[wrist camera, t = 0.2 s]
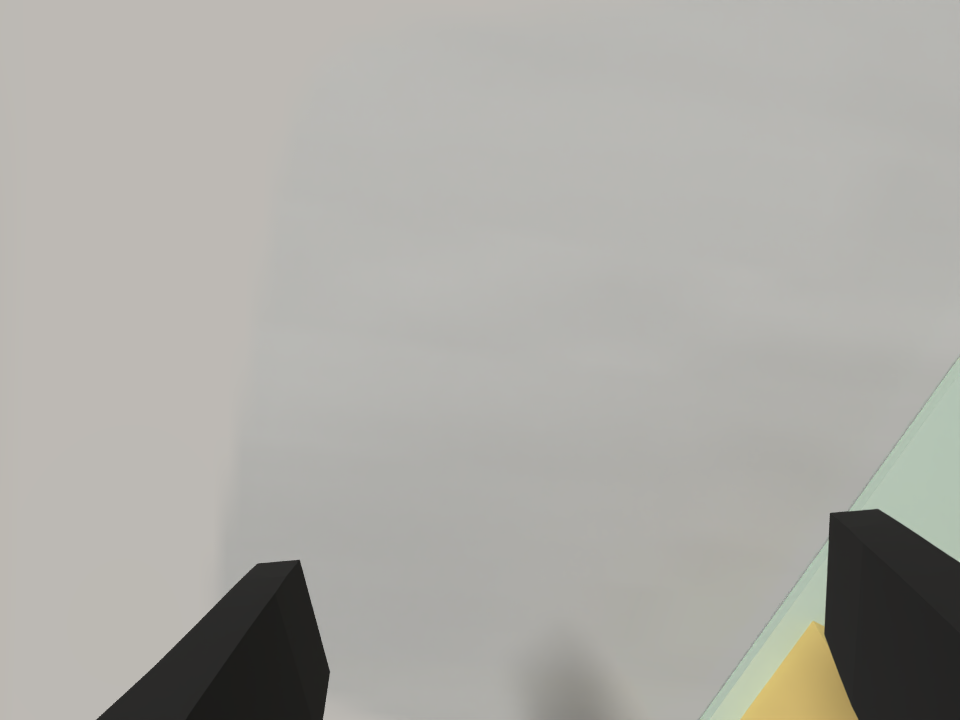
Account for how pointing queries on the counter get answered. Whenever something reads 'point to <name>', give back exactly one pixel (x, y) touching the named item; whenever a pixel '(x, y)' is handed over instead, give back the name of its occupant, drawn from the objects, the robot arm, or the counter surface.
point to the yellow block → (804, 685)
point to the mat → (894, 490)
